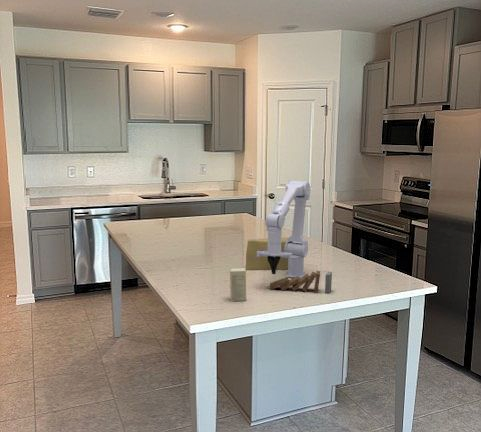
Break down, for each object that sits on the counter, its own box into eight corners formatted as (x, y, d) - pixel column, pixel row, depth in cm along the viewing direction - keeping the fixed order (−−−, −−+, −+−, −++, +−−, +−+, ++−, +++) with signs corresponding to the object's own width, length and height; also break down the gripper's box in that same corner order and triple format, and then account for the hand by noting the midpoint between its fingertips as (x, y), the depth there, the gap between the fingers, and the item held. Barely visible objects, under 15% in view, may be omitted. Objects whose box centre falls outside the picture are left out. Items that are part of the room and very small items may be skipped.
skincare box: (245, 297, 193) (246, 267, 191) (246, 301, 189) (246, 270, 187) (229, 297, 193) (230, 267, 191) (229, 301, 189) (230, 270, 187)
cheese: (248, 272, 229) (248, 241, 227) (243, 267, 238) (244, 237, 236) (292, 270, 234) (293, 239, 231) (286, 265, 243) (287, 235, 241)
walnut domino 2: (280, 287, 202) (297, 279, 200) (281, 283, 207) (298, 275, 205) (282, 290, 202) (299, 282, 201) (283, 287, 207) (299, 279, 205)
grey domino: (324, 293, 200) (325, 274, 198) (327, 289, 204) (328, 271, 203) (328, 293, 199) (329, 275, 198) (331, 290, 204) (331, 271, 202)
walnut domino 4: (302, 290, 201) (312, 274, 199) (302, 286, 206) (312, 271, 204) (305, 292, 201) (315, 276, 199) (306, 288, 206) (316, 273, 204)
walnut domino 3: (291, 288, 202) (306, 276, 200) (292, 284, 206) (306, 273, 205) (294, 291, 202) (308, 279, 200) (295, 287, 206) (309, 276, 205)
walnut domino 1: (269, 286, 203) (286, 280, 201) (270, 282, 208) (287, 276, 206) (270, 289, 203) (288, 283, 202) (271, 286, 208) (289, 280, 206)
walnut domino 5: (313, 292, 200) (316, 273, 199) (314, 288, 205) (316, 270, 204) (317, 293, 200) (320, 274, 198) (317, 289, 205) (320, 271, 203)
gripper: (255, 243, 200) (255, 275, 202) (291, 245, 197) (290, 277, 199) (258, 239, 207) (257, 270, 209) (292, 241, 204) (291, 272, 206)
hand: (273, 273), depth 205 cm, fingers closed
